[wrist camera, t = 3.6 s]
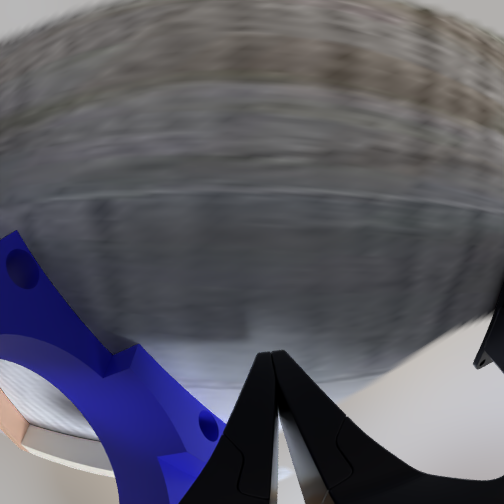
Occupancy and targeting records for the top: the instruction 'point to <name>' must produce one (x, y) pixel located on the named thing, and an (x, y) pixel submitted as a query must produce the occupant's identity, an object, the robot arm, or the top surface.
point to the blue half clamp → (106, 386)
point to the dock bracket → (53, 443)
